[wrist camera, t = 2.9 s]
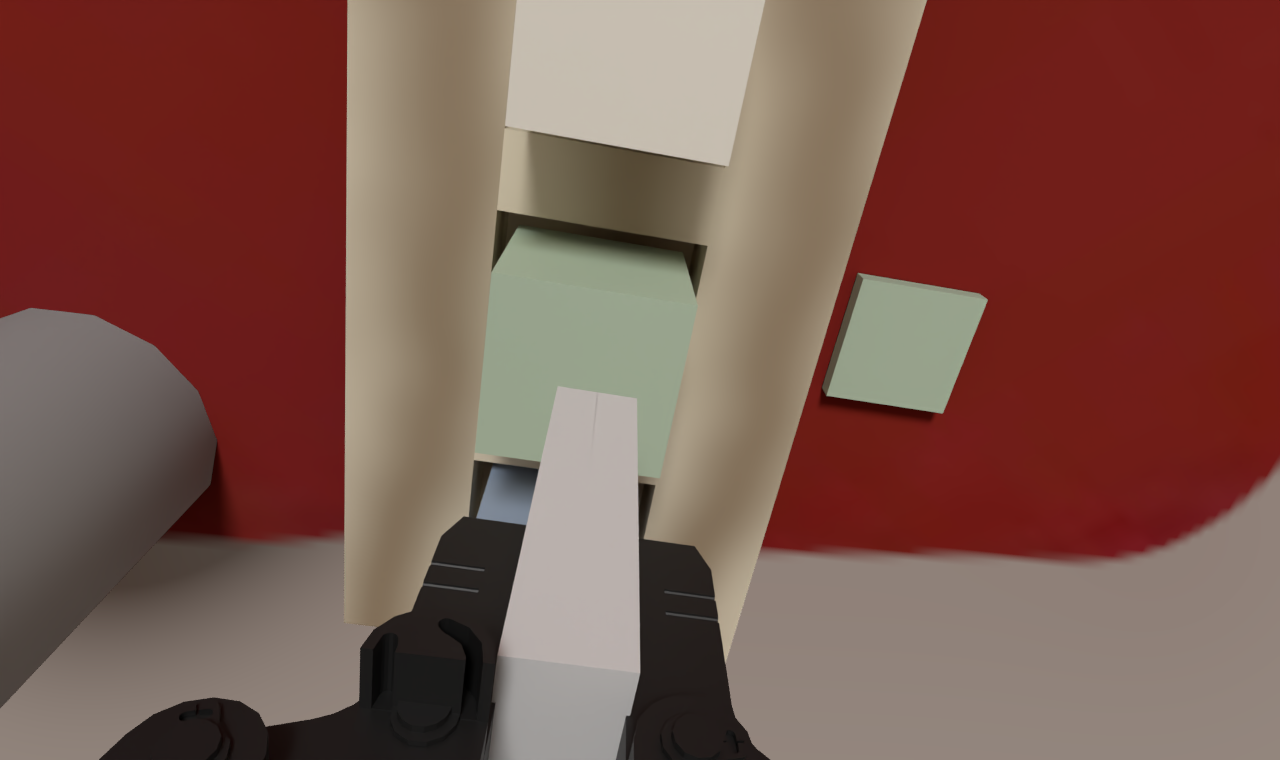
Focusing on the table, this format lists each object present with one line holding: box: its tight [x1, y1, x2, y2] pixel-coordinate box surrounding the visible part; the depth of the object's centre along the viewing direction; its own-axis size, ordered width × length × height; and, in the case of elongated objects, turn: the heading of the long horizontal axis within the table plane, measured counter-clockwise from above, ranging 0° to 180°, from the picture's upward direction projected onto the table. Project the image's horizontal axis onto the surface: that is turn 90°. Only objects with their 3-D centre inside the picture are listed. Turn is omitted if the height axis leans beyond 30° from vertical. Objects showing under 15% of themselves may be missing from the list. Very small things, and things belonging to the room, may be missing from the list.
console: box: [344, 0, 927, 663], centre depth 21 cm, size 13×24×3 cm, turn 170°
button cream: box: [505, 0, 765, 166], centre depth 15 cm, size 4×4×4 cm
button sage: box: [475, 225, 698, 478], centre depth 19 cm, size 4×4×4 cm
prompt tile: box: [822, 273, 987, 413], centre depth 23 cm, size 4×4×1 cm
